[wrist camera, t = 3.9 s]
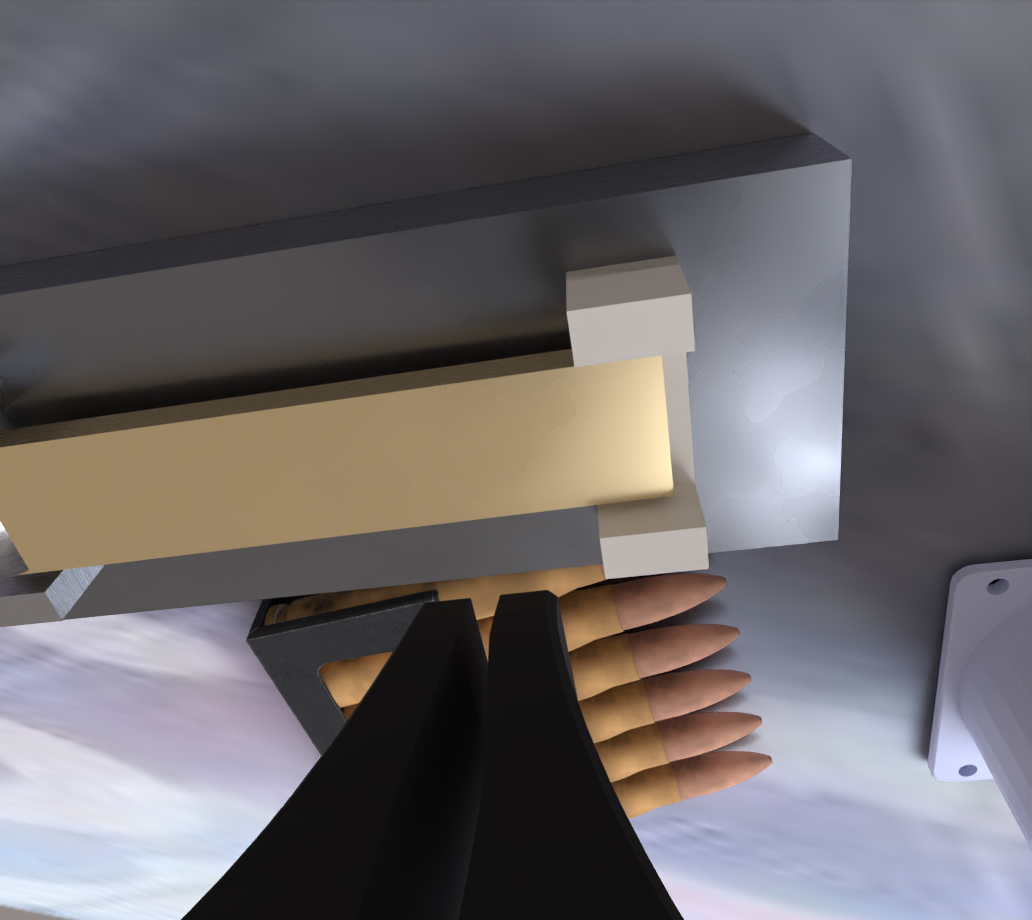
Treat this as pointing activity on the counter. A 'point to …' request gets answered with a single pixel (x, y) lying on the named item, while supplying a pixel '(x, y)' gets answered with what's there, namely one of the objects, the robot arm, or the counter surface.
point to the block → (457, 351)
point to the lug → (668, 333)
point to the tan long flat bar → (334, 461)
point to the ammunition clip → (594, 660)
